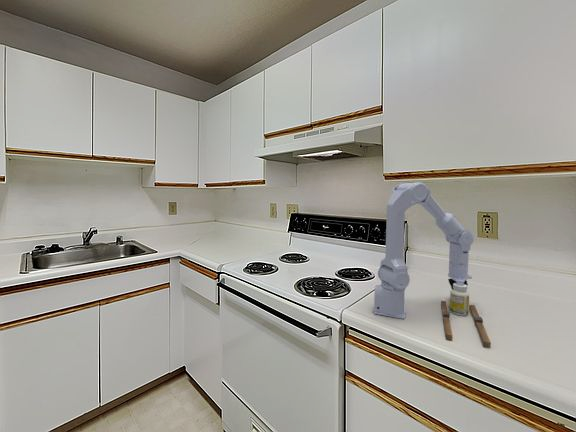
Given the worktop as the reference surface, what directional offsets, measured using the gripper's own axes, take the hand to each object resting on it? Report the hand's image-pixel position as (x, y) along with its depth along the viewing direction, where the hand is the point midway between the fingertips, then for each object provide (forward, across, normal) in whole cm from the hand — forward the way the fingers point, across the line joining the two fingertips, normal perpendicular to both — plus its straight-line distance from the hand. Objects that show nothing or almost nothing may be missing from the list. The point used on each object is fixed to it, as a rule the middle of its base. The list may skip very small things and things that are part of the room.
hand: (457, 300), depth 98 cm
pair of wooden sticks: (+2, -14, 0) cm, 15 cm away
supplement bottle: (+2, -6, 0) cm, 7 cm away
